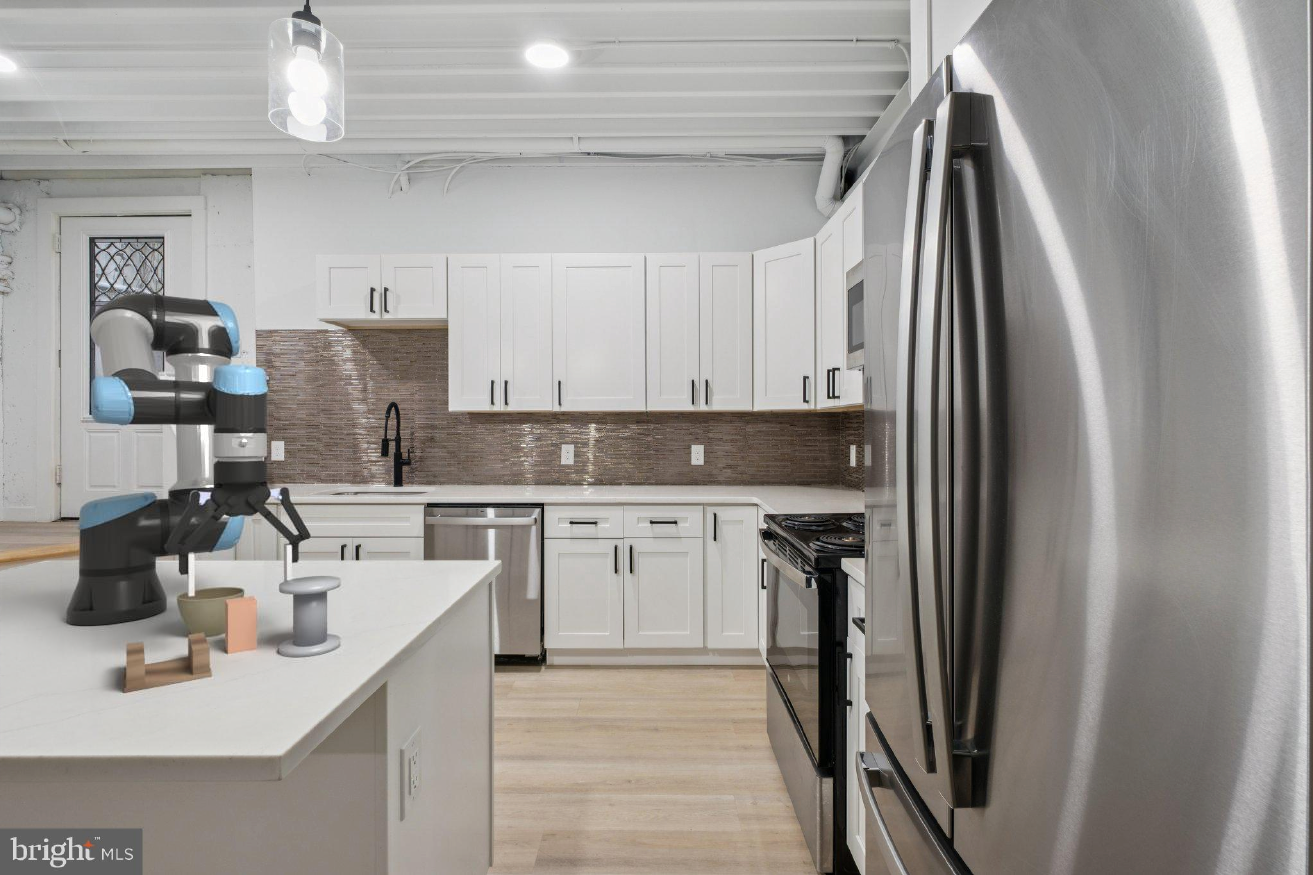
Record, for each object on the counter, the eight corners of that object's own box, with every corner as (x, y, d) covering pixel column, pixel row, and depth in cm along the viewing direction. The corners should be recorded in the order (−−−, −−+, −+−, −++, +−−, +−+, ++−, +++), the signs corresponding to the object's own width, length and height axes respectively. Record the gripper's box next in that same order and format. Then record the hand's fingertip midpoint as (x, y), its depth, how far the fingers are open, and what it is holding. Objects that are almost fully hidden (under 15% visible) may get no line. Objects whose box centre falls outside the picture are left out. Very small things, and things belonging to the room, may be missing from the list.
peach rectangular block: (225, 647, 109) (225, 599, 109) (253, 643, 112) (253, 596, 112) (228, 654, 106) (228, 604, 106) (256, 649, 109) (256, 600, 109)
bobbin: (274, 646, 110) (274, 580, 110) (333, 636, 115) (333, 573, 115) (284, 661, 103) (284, 590, 103) (346, 649, 108) (346, 582, 108)
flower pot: (210, 643, 111) (210, 601, 111) (161, 639, 113) (161, 598, 113) (257, 626, 121) (257, 587, 121) (211, 623, 123) (211, 585, 123)
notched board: (124, 672, 98) (124, 644, 98) (205, 657, 104) (205, 631, 104) (124, 692, 90) (123, 662, 90) (211, 676, 96) (211, 648, 96)
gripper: (145, 462, 98) (146, 604, 98) (328, 458, 114) (329, 581, 113) (144, 461, 104) (145, 595, 104) (318, 457, 119) (319, 574, 119)
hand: (241, 588), depth 109 cm, fingers open, 13 cm apart
